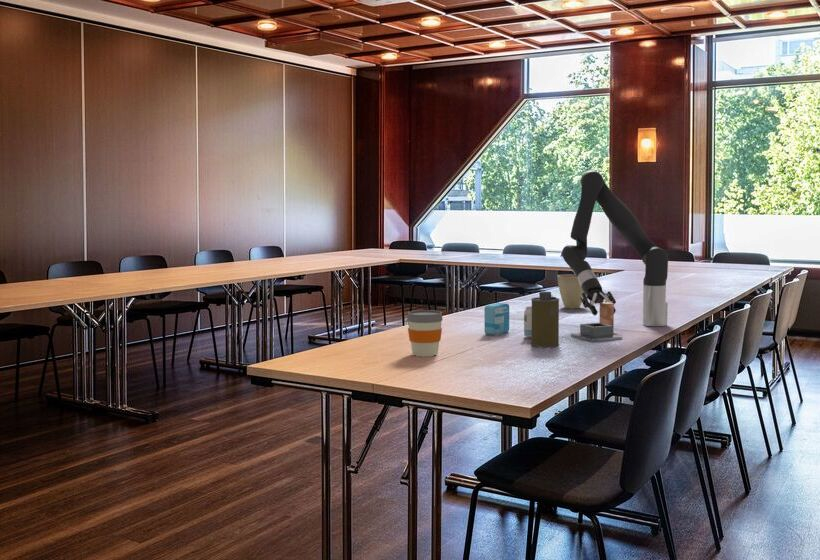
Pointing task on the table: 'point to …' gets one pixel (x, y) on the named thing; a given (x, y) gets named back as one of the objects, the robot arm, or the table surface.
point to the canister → (545, 320)
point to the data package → (496, 318)
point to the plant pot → (570, 290)
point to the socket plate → (596, 332)
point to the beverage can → (528, 322)
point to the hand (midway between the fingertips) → (605, 313)
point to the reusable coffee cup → (424, 331)
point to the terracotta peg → (607, 313)
